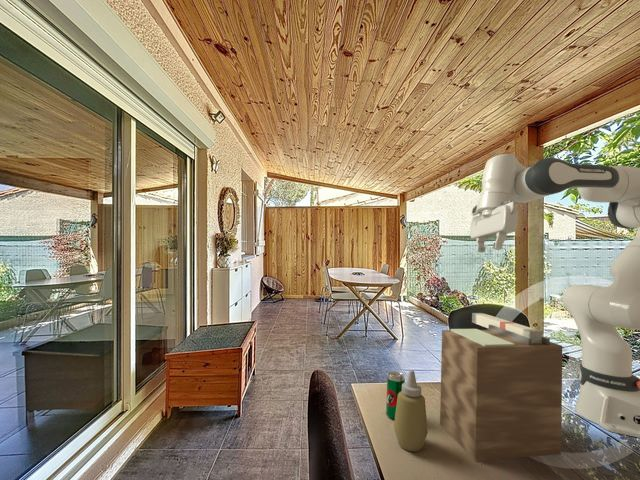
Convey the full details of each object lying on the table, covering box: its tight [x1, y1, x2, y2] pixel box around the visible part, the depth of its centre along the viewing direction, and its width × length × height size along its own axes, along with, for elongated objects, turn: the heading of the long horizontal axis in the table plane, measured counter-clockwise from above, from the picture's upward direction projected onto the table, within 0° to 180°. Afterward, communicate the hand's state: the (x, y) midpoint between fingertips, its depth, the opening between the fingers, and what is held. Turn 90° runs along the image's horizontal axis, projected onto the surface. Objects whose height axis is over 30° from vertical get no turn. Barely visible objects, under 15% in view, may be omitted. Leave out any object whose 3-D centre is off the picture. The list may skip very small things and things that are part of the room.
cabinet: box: [439, 325, 563, 462], centre depth 80 cm, size 15×23×28 cm, turn 99°
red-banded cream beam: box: [471, 312, 543, 343], centre depth 87 cm, size 22×4×3 cm, turn 9°
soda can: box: [385, 371, 406, 421], centre depth 89 cm, size 5×5×12 cm
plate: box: [450, 328, 515, 346], centre depth 80 cm, size 14×8×1 cm, turn 9°
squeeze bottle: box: [393, 370, 428, 452], centre depth 76 cm, size 8×8×18 cm
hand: (488, 250), depth 91 cm, fingers open, 8 cm apart
